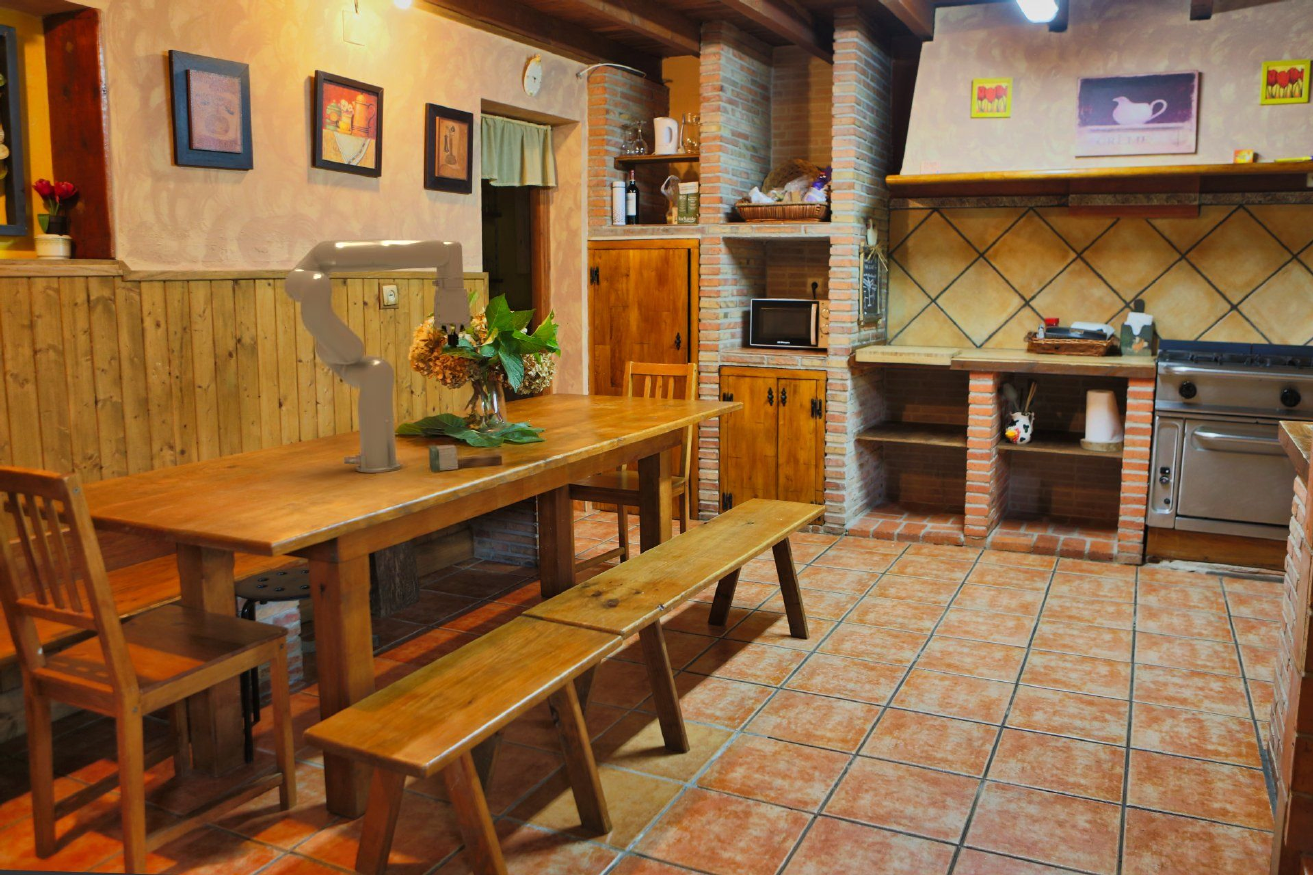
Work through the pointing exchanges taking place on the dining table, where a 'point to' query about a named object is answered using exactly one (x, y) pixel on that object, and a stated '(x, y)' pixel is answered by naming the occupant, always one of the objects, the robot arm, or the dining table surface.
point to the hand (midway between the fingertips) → (453, 347)
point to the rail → (464, 460)
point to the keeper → (447, 457)
